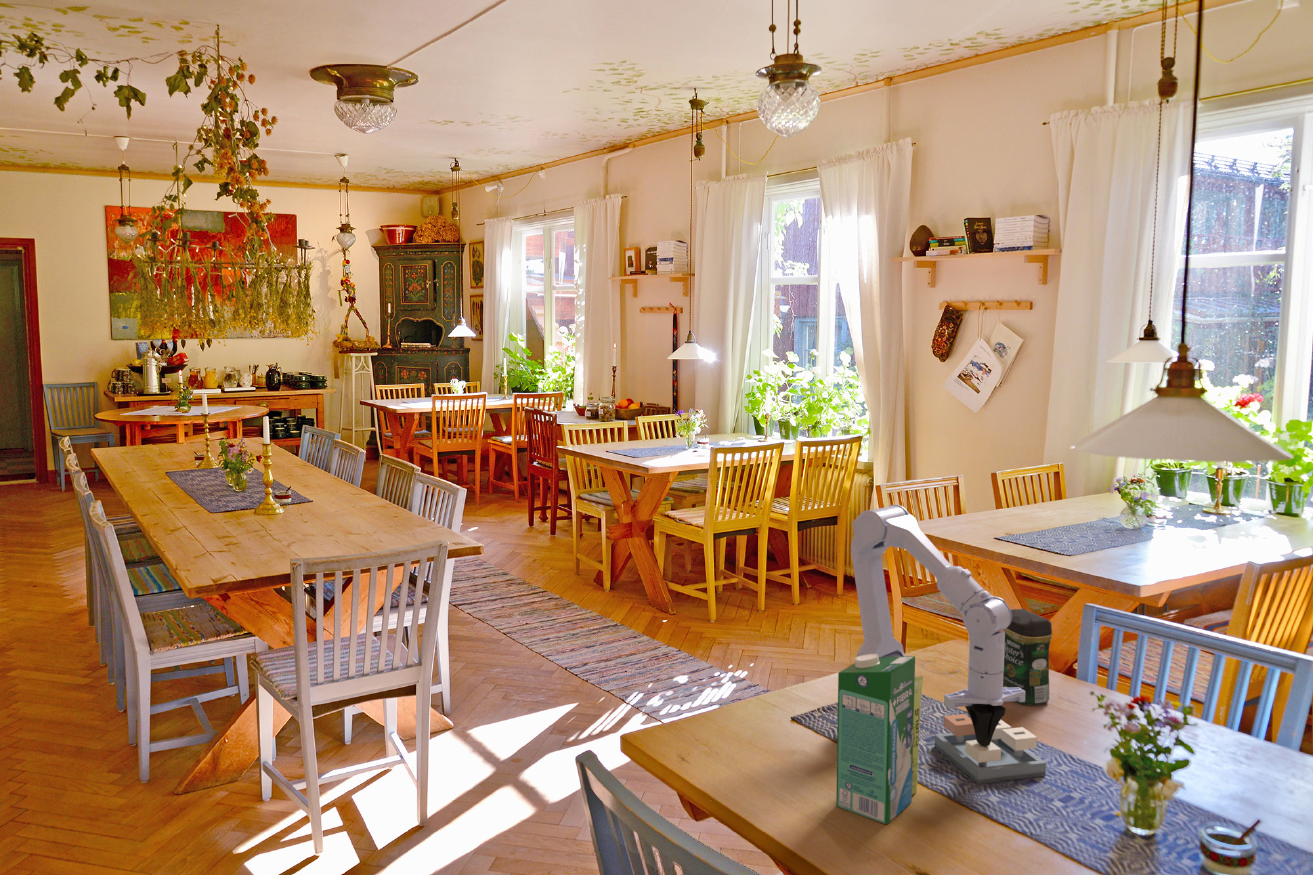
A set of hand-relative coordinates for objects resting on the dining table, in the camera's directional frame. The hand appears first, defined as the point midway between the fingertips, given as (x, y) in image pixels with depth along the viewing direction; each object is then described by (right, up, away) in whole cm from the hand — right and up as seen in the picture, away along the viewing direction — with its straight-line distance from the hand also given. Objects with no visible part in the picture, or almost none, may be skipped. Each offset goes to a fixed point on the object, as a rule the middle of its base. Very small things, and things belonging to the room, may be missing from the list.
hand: (983, 743), depth 159 cm
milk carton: (-21, -7, -10) cm, 25 cm away
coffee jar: (+20, -2, +33) cm, 39 cm away
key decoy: (-2, -2, +8) cm, 8 cm away
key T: (+7, -3, +2) cm, 8 cm away
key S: (0, -4, 0) cm, 4 cm away
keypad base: (+3, -5, +5) cm, 7 cm away
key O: (+5, -3, +9) cm, 11 cm away
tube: (-16, -6, -5) cm, 18 cm away
